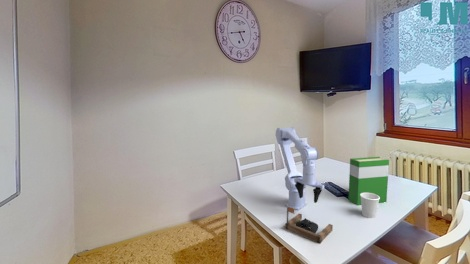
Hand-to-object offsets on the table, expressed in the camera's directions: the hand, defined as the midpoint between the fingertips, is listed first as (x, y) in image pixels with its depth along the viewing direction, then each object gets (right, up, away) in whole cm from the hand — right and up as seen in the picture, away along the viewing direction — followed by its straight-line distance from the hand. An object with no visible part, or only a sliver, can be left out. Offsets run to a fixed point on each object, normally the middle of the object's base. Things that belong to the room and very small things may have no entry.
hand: (308, 199), depth 112 cm
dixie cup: (+30, -8, +1) cm, 31 cm away
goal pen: (-3, -10, -11) cm, 15 cm away
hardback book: (+38, -6, +16) cm, 42 cm away
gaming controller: (-3, -10, -10) cm, 15 cm away
